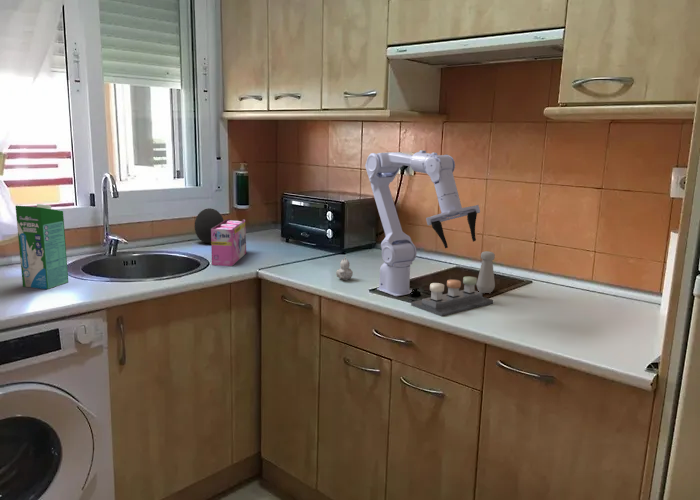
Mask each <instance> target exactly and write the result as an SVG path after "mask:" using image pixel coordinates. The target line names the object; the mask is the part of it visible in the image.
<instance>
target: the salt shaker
mask: <svg viewBox="0 0 700 500" xmlns="http://www.w3.org/2000/svg"><path fill="white" fill-rule="evenodd" d="M495 256H496V255H495V252H492V251H486V250H485V251H482V252H481V253H480V259H481V264H480V269H479V273H478V277H477V284H476V285H475V286H476V288H477V291H479V292H481V293H483V294H485V293H489V294H492V293H493V291H494V290H495V288H496V287H495V286H496V282H495V272H494V263H493V261H494V260H495V258H496V257H495ZM491 292H492V293H491Z"/></svg>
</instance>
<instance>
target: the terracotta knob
mask: <svg viewBox="0 0 700 500" xmlns="http://www.w3.org/2000/svg"><path fill="white" fill-rule="evenodd" d="M461 286H462V281H461V280H459V279H447V281H446V288H447V293H448V295H450V296H453V297H454V296H459V291H460V288H461Z"/></svg>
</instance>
